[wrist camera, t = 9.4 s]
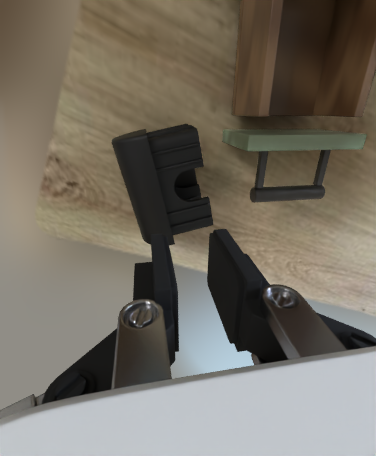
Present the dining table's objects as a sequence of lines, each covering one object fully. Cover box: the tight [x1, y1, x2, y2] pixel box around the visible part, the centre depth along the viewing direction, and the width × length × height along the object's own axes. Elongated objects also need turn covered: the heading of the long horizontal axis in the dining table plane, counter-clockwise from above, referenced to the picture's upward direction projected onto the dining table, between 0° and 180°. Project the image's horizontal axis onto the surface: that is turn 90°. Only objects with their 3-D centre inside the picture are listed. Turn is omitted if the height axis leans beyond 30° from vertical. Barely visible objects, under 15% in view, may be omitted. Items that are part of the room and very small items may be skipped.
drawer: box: [222, 0, 376, 203], centre depth 21 cm, size 19×10×7 cm, turn 0°
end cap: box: [112, 124, 213, 245], centre depth 24 cm, size 10×7×7 cm
